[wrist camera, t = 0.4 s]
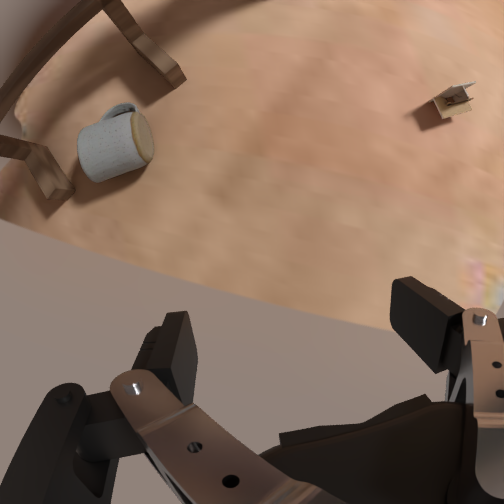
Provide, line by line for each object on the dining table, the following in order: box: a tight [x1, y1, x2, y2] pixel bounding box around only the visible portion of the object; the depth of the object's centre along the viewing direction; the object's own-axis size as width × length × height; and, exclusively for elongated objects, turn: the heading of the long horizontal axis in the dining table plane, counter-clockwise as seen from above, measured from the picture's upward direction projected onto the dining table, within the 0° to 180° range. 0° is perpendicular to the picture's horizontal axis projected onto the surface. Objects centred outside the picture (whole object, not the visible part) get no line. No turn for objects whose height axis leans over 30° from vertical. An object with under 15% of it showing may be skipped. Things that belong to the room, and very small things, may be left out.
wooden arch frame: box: [0, 0, 187, 200], centre depth 28 cm, size 10×24×16 cm, turn 131°
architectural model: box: [428, 81, 476, 119], centre depth 31 cm, size 3×7×7 cm, turn 113°
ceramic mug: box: [77, 102, 154, 183], centre depth 33 cm, size 11×8×8 cm
